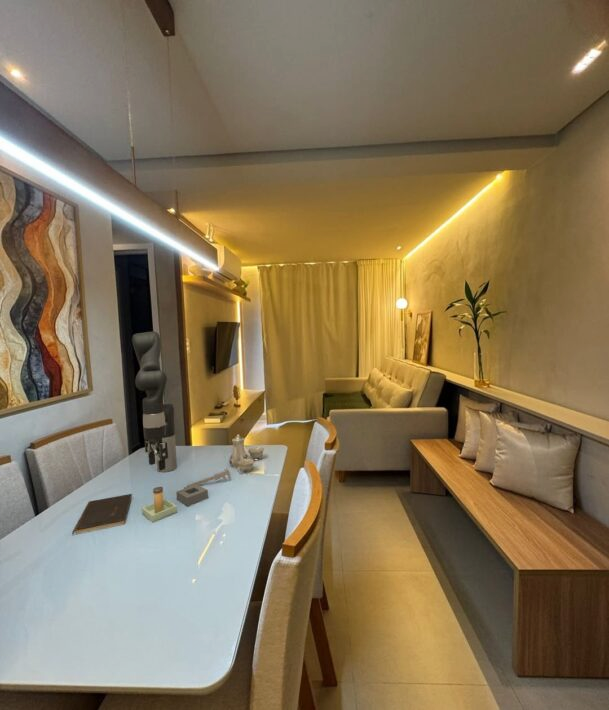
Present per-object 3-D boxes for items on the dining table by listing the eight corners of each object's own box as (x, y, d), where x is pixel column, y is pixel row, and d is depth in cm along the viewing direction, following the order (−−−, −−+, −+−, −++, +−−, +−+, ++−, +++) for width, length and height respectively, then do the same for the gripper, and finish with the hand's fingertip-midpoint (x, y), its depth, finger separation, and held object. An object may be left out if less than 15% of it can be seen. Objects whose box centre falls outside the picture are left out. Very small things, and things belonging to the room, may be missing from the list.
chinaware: (254, 479, 163) (256, 444, 162) (220, 476, 163) (221, 441, 163) (264, 458, 190) (266, 429, 190) (235, 456, 191) (236, 426, 191)
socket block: (176, 499, 140) (176, 491, 140) (196, 492, 147) (196, 484, 147) (187, 506, 134) (187, 497, 134) (208, 498, 141) (207, 489, 141)
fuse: (153, 512, 130) (151, 489, 129) (161, 508, 132) (160, 486, 132) (156, 515, 127) (155, 491, 127) (165, 511, 130) (164, 488, 129)
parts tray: (142, 514, 130) (141, 507, 129) (166, 505, 136) (165, 499, 136) (152, 522, 123) (152, 515, 123) (177, 512, 130) (176, 506, 130)
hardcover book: (132, 499, 144) (131, 493, 144) (125, 526, 123) (124, 519, 123) (88, 507, 139) (87, 501, 138) (72, 536, 117) (72, 530, 117)
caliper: (230, 480, 159) (229, 467, 159) (230, 481, 158) (229, 467, 157) (183, 488, 152) (182, 474, 152) (183, 489, 151) (182, 475, 150)
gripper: (136, 423, 130) (139, 465, 131) (152, 429, 120) (155, 475, 121) (156, 419, 136) (158, 459, 137) (173, 425, 126) (175, 468, 127)
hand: (157, 466), depth 129 cm, fingers open, 8 cm apart
